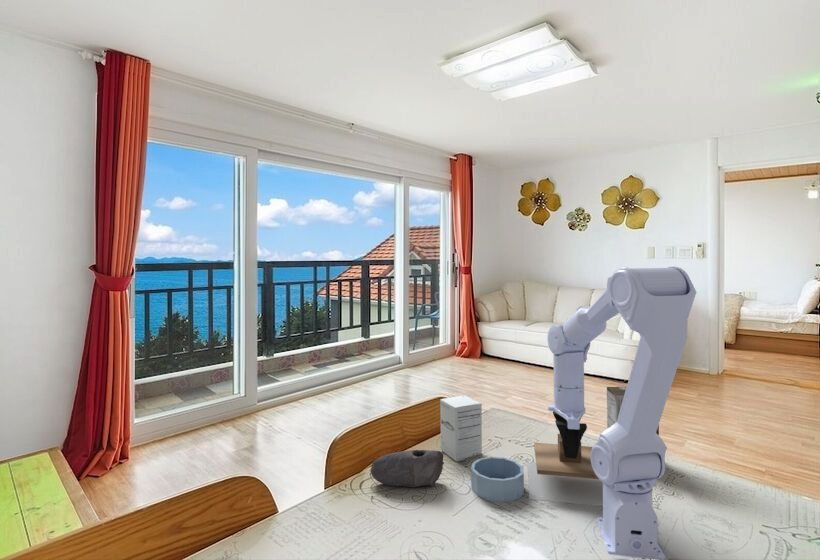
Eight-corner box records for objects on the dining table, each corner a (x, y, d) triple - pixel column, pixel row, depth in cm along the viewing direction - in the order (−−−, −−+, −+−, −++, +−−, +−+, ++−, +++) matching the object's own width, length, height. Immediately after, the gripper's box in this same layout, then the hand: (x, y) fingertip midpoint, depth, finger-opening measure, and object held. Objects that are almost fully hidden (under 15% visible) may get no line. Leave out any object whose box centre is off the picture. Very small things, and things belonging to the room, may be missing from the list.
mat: (622, 510, 79) (621, 508, 79) (529, 501, 83) (529, 498, 83) (604, 470, 95) (604, 468, 95) (526, 464, 98) (526, 461, 98)
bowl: (524, 506, 81) (524, 482, 81) (469, 501, 83) (469, 477, 83) (523, 480, 91) (522, 459, 91) (474, 476, 93) (473, 455, 93)
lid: (611, 480, 81) (611, 454, 81) (537, 474, 84) (537, 449, 84) (597, 450, 94) (597, 428, 93) (534, 446, 96) (534, 424, 96)
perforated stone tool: (368, 490, 88) (367, 455, 88) (373, 477, 94) (372, 445, 93) (443, 492, 87) (443, 457, 87) (444, 479, 92) (443, 446, 92)
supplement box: (439, 450, 107) (439, 398, 106) (466, 444, 110) (465, 394, 109) (455, 462, 100) (454, 407, 100) (483, 456, 103) (482, 402, 103)
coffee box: (647, 455, 102) (647, 386, 101) (660, 468, 95) (660, 394, 95) (606, 454, 103) (605, 385, 102) (616, 467, 96) (616, 393, 96)
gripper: (545, 375, 96) (545, 437, 97) (550, 394, 82) (551, 466, 82) (579, 376, 95) (580, 439, 95) (591, 396, 81) (591, 469, 81)
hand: (569, 452), depth 89 cm, fingers closed on lid, 4 cm apart
